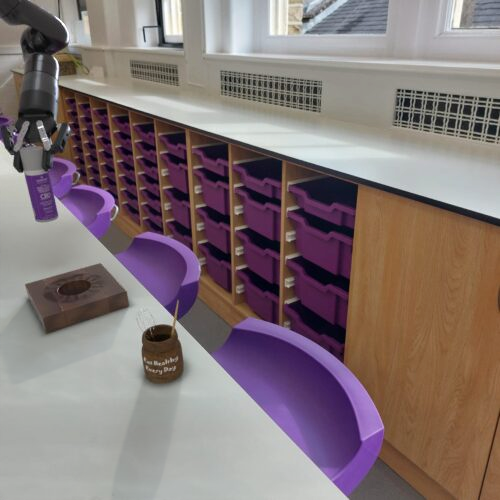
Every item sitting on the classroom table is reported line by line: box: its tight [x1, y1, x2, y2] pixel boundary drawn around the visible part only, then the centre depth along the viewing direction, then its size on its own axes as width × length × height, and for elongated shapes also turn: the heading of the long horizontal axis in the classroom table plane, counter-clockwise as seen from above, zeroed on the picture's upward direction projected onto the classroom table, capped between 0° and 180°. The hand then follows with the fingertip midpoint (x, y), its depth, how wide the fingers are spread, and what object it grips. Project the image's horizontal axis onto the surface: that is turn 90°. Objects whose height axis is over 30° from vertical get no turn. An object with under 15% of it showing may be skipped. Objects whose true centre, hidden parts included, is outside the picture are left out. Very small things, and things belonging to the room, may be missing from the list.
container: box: [20, 145, 59, 223], centre depth 101 cm, size 5×5×15 cm
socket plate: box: [24, 262, 130, 335], centre depth 93 cm, size 15×15×4 cm
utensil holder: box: [135, 299, 185, 384], centre depth 71 cm, size 6×6×12 cm
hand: (32, 170), depth 97 cm, fingers closed on container, 4 cm apart
